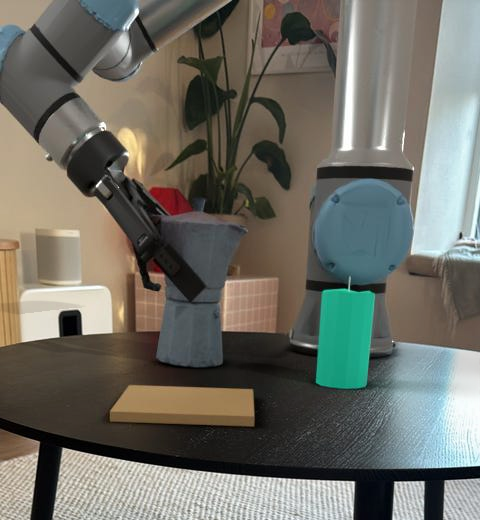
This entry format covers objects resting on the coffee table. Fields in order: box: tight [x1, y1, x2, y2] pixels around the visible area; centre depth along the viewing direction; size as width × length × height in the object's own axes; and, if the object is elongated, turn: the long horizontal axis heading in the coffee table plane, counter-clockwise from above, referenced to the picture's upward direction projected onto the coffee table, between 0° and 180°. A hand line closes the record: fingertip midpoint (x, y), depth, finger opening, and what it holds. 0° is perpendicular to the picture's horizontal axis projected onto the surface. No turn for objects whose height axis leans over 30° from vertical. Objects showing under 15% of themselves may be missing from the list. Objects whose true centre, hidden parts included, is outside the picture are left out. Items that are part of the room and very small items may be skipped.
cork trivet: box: [109, 384, 255, 428], centre depth 73 cm, size 13×12×1 cm
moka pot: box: [131, 196, 249, 368], centre depth 95 cm, size 10×15×20 cm, turn 78°
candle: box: [315, 277, 375, 390], centre depth 86 cm, size 6×6×12 cm
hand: (209, 290), depth 95 cm, fingers open, 11 cm apart
